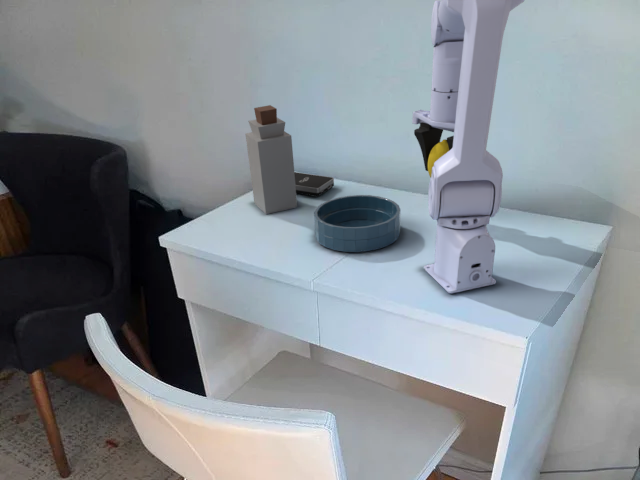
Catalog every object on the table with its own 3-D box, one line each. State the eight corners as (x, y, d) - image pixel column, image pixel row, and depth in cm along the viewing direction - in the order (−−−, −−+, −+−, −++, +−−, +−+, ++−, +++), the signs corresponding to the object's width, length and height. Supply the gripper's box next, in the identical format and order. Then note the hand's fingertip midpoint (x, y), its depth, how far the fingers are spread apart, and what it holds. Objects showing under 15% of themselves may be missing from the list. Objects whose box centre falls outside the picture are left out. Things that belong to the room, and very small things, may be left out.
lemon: (448, 193, 108) (451, 146, 102) (420, 188, 110) (423, 141, 105) (462, 184, 111) (467, 137, 106) (435, 179, 113) (438, 133, 108)
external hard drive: (318, 198, 125) (317, 188, 124) (274, 191, 130) (273, 181, 128) (335, 187, 129) (334, 177, 128) (291, 180, 134) (291, 171, 133)
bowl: (413, 243, 106) (414, 218, 103) (330, 260, 103) (329, 234, 100) (380, 213, 117) (380, 189, 114) (305, 227, 114) (303, 203, 111)
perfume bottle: (254, 203, 125) (242, 107, 113) (284, 196, 127) (275, 101, 115) (266, 214, 120) (254, 115, 109) (297, 207, 122) (289, 109, 111)
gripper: (499, 90, 97) (489, 176, 106) (434, 78, 106) (429, 159, 115) (469, 99, 94) (461, 187, 103) (404, 86, 103) (402, 168, 112)
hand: (442, 173), depth 109 cm, fingers closed on lemon, 5 cm apart
